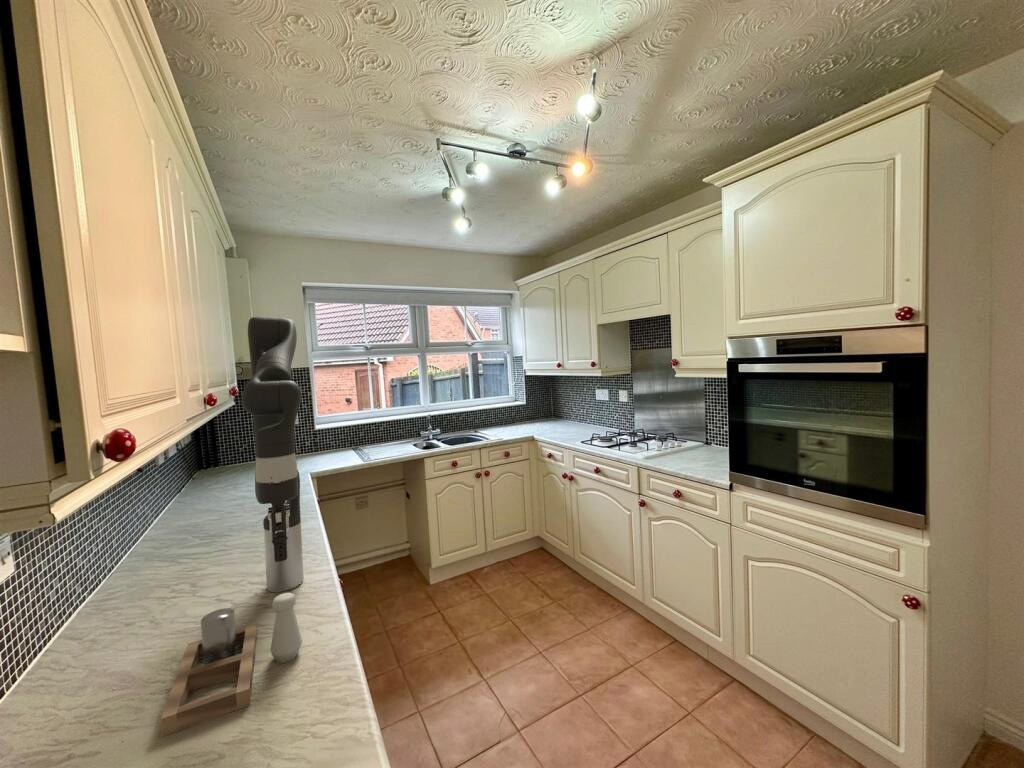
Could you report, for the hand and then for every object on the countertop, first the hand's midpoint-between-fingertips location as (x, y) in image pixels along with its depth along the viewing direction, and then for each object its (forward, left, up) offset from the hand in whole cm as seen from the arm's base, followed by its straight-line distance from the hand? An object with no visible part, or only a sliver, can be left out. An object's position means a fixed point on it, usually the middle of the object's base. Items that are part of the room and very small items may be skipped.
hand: (281, 552), depth 86 cm
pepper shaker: (-5, -12, -22) cm, 26 cm away
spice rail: (0, -12, -22) cm, 25 cm away
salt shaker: (0, 0, -22) cm, 22 cm away
